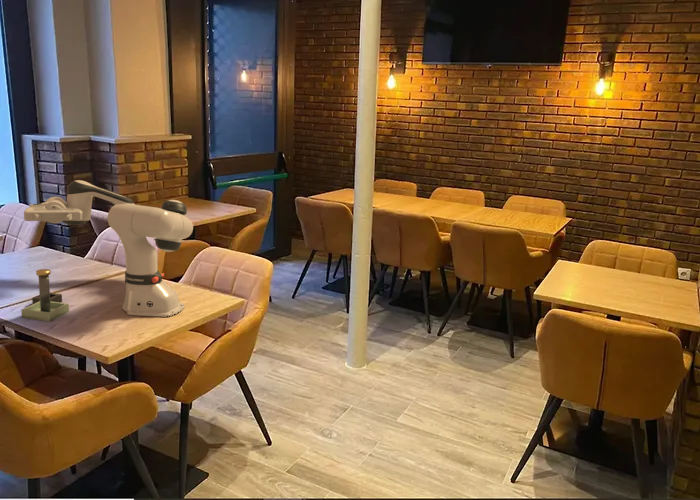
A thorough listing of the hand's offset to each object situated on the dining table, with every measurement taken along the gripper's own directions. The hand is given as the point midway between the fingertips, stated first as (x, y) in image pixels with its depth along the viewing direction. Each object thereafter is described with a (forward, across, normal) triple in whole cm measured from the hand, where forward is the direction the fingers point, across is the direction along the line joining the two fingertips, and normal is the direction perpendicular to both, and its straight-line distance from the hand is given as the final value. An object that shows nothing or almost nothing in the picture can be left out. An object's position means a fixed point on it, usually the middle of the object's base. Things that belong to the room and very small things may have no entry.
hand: (53, 218), depth 218 cm
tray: (+24, +3, -30) cm, 38 cm away
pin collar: (+12, +3, -30) cm, 32 cm away
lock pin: (+24, +3, -29) cm, 37 cm away
